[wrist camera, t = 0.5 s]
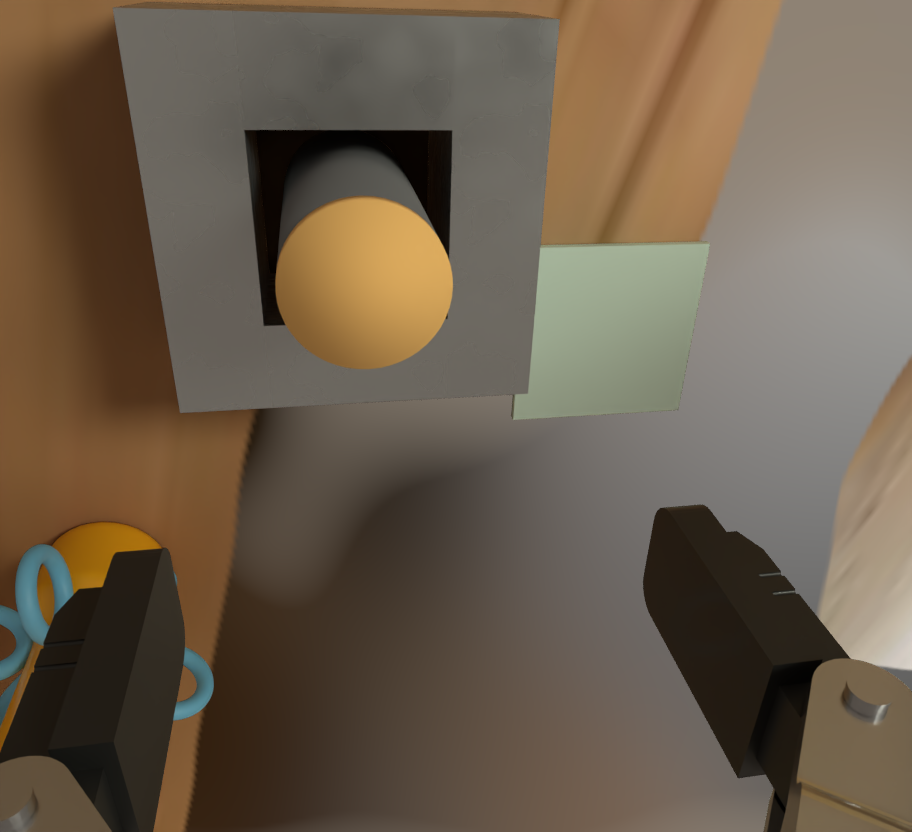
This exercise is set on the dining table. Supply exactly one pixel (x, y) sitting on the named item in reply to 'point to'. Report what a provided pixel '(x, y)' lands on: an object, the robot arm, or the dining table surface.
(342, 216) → the plug
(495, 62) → the housing
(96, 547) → the yellow blue looped piece
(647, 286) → the mat
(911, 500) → the dining table surface
